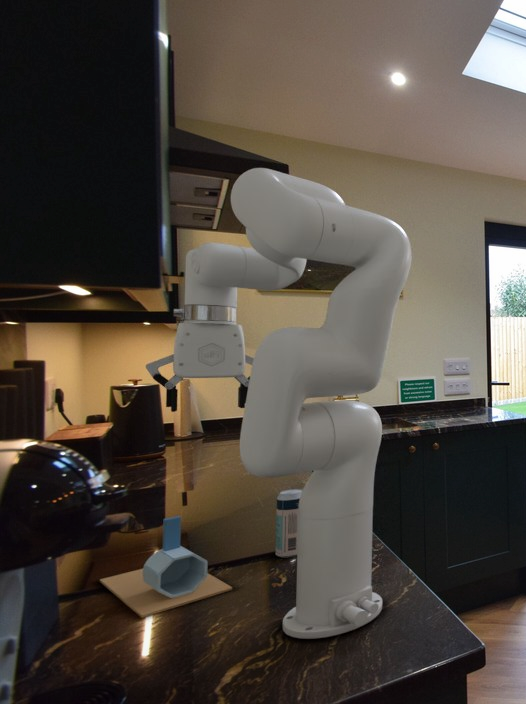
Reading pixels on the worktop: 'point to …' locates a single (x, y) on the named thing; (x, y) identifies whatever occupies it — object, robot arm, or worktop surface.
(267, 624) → the worktop surface
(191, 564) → the pale-blue faceted part
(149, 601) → the cork mat
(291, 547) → the white labelled bottle
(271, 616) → the worktop surface
